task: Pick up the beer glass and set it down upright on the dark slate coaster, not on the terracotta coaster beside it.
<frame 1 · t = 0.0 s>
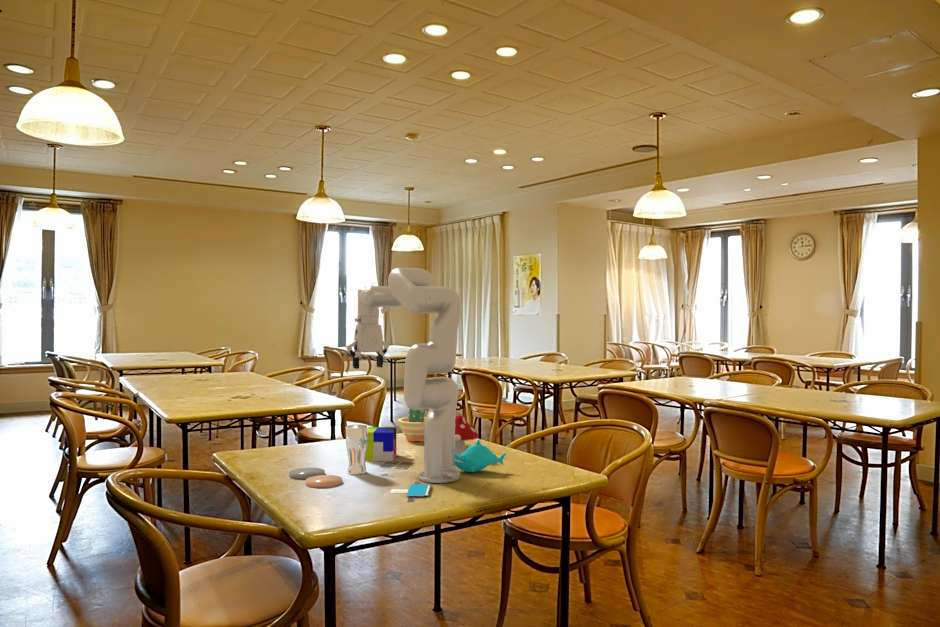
hand: (368, 367, 242), 31 cm above the table, tool pointing down, fingers open, 9 cm apart
toy shark: (478, 472, 215), on the table
beer glass: (356, 473, 214), on the table
terracotta coaster: (323, 482, 201), on the table
potted cactus: (416, 440, 267), on the table
slate coaster: (306, 474, 210), on the table
decorative mushroom: (459, 457, 237), on the table
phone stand: (411, 494, 192), on the table
puzzle toy: (380, 458, 235), on the table
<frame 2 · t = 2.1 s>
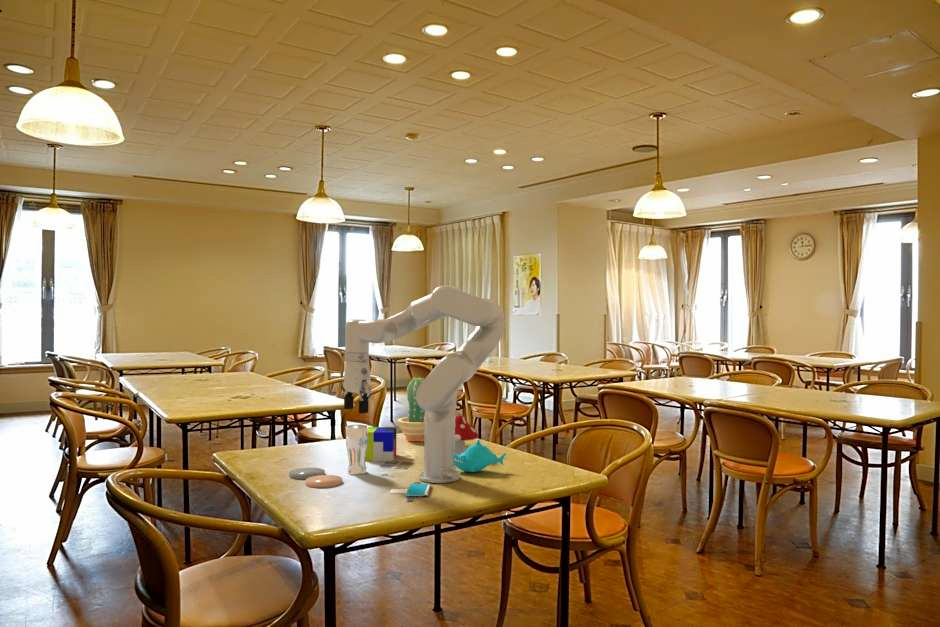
hand: (355, 410, 213), 20 cm above the table, tool pointing down, fingers open, 9 cm apart
nothing on the table moved.
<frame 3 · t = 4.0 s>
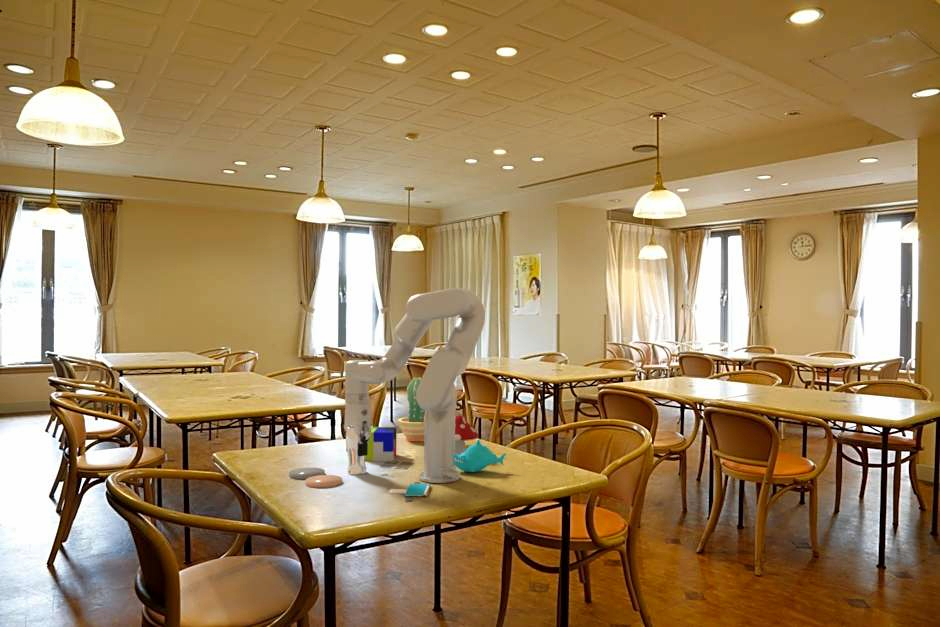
hand: (356, 453, 213), 6 cm above the table, tool pointing down, fingers closed on beer glass, 6 cm apart
beer glass: (356, 473, 213), on the table, touching gripper
everything else where it was.
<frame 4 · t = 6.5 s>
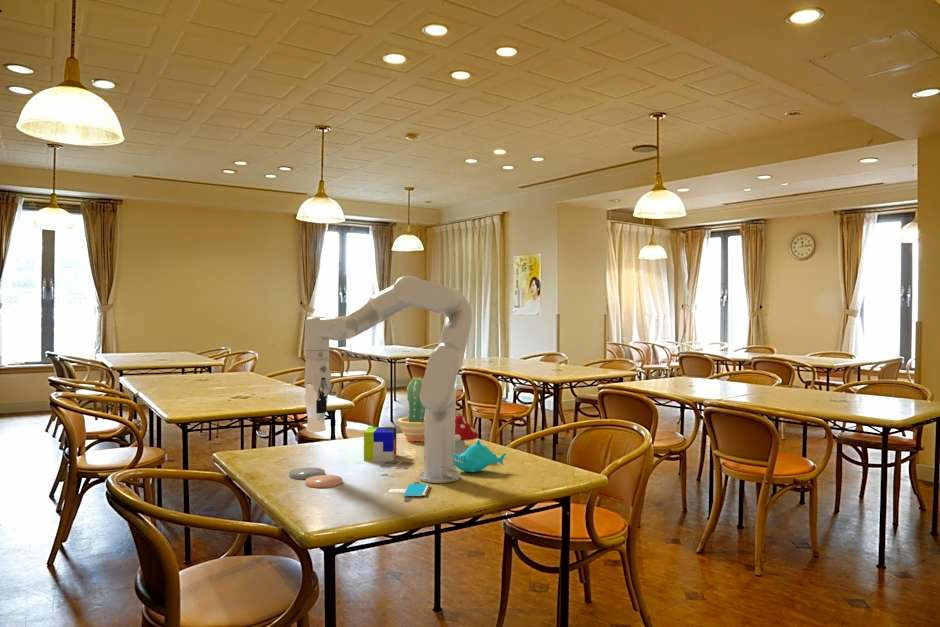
hand: (316, 410, 211), 20 cm above the table, tool pointing down, fingers closed on beer glass, 6 cm apart
beer glass: (315, 431, 211), point 14 cm above the table, touching gripper
everything else where it was.
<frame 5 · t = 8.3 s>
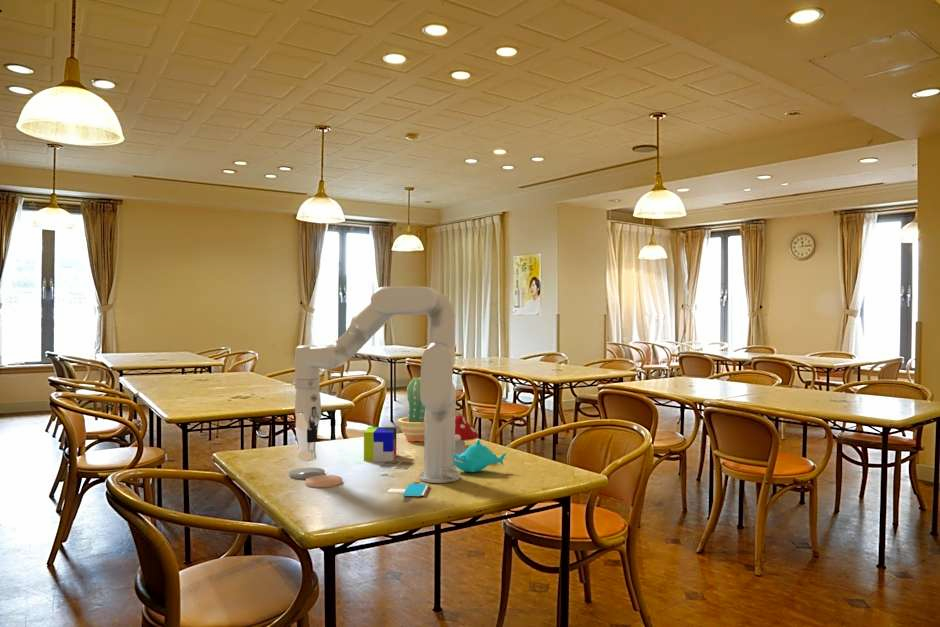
hand: (306, 439, 210), 11 cm above the table, tool pointing down, fingers closed on beer glass, 6 cm apart
beer glass: (306, 459, 210), point 5 cm above the table, touching gripper
everything else where it was.
when the fingers open (9 cm above the table, at t = 9.4 s): beer glass drops 1 cm, resting on slate coaster.
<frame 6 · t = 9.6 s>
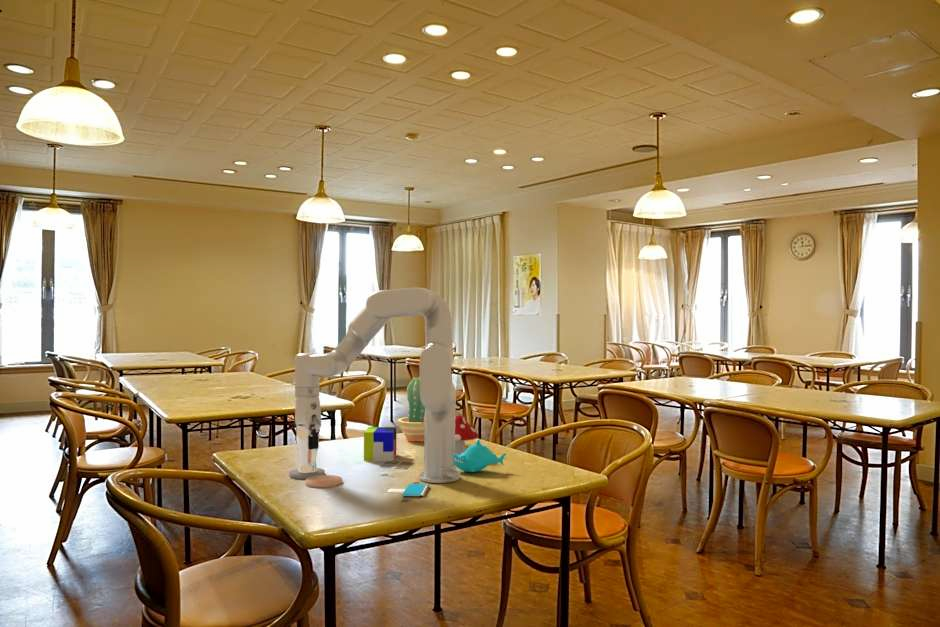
hand: (307, 446, 210), 9 cm above the table, tool pointing down, fingers open, 8 cm apart
beer glass: (307, 472, 210), point 1 cm above the table, touching slate coaster
everything else where it was.
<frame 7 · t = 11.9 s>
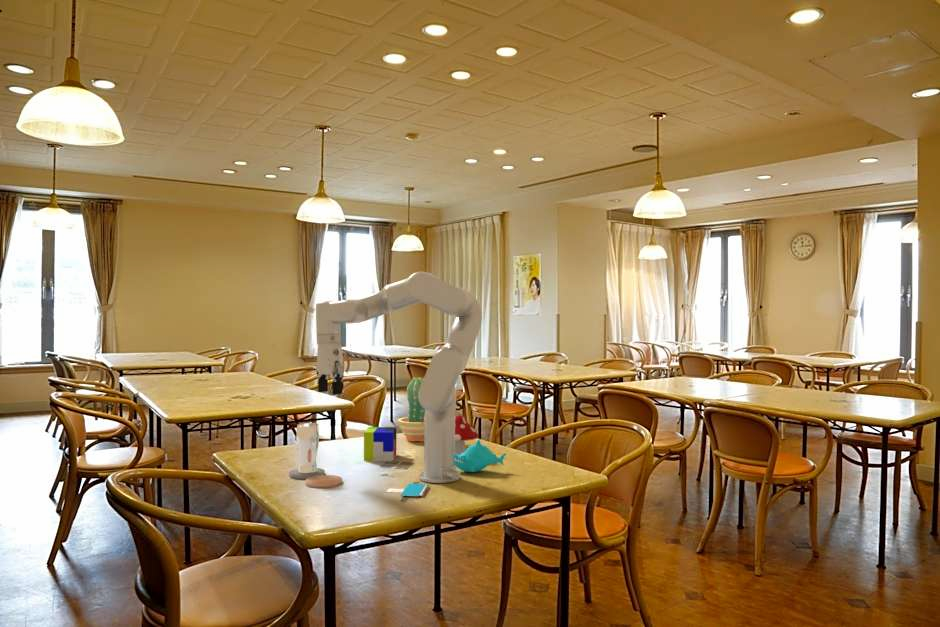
hand: (330, 392, 212), 26 cm above the table, tool pointing down, fingers open, 9 cm apart
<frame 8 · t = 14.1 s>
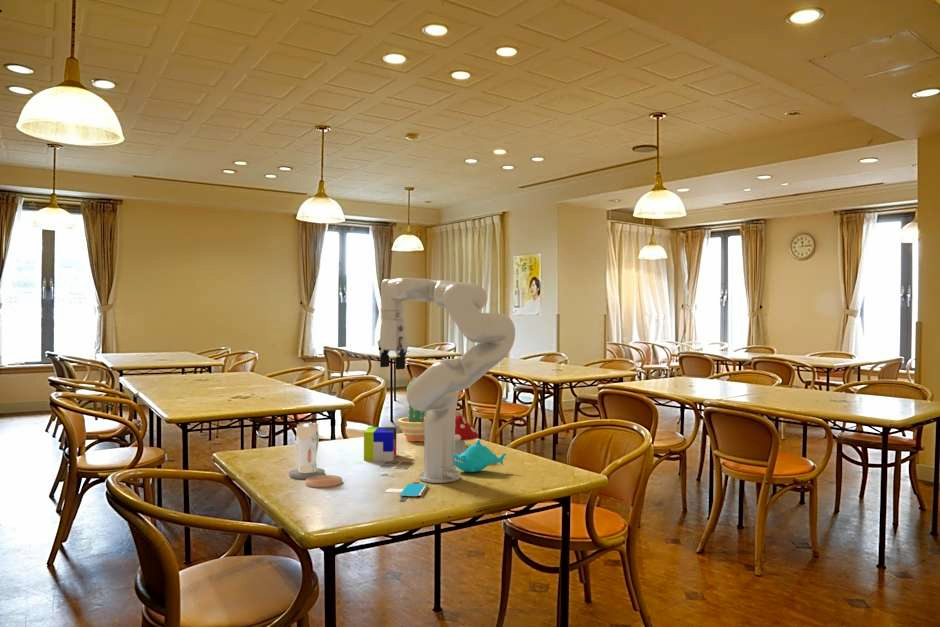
hand: (392, 367, 219), 33 cm above the table, tool pointing down, fingers open, 9 cm apart
at the end: beer glass 0.2 cm off-centre on the slate coaster, point 0.8 cm above the slate coaster's base; beer glass tilted 0°; the gripper is holding nothing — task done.
